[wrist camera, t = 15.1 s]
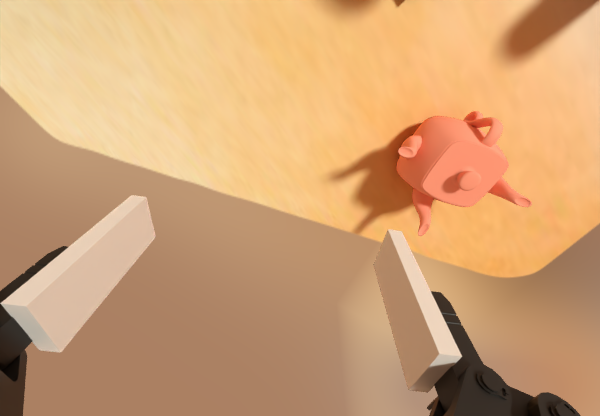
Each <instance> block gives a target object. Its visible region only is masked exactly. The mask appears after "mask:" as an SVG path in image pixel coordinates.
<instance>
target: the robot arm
mask: <svg viewBox="0 0 600 416" xmlns="http://www.w3.org/2000/svg"><path fill="white" fill-rule="evenodd" d="M155 237H156V236H155V232H154V227H153V223H152V219H151V215H150V211H149V207H148V202H147V198H146V197H142V196H133V195H131V196H130V197H129V198H128V199H126V200H125V201H124V202H123V203H122V204H120V205H119V206H118V207H117V208H116V209H114V210H113V211H112V212H111V213H109V214H108V215H107V216H106V217H105V218H103V219H102V220H101V221H100V222H99V223H97V224H96V225H95V226H94V227H92V228H91V229H90V230H89V231H88V232H86V233H85V234H84V235H83V236H82V237H80V238H79V239H78V240H77V241H76V242H74V243H73V244H72V245H71V246H69V247H66V246H63V247H61V248H58V249H56V250H54V251H52V252H51V253H48V254H47V255H46V256H44V257H43V258H42V259H41V260H39V261H38V262H37V263H36V264H35V266H32V267H30V268H29V269H28V270H27V271H26V272H25V273H24V274H21V275H20V276H19V277H18V278H16V279H15V280H14V281H12V282H11V283H10V284H9V285H7V286H6V287H5V288H4V289H2V290H1V291H0V416H23V404H24V391H25V376H26V364H27V354H26V351H25V348H26V347H27V346H28V345H29V344H30V343H31V342H33V343H34V344H35V345H36V347H37V348H38V349H39V350H43V351H52V352H62V350H63V349H64V348H65V347H66V346H67V344H68V343H69V342H70V341H71V340H72V338H73V337H74V336H75V335H76V333H77V332H78V331H79V329H80V328H81V327H82V326H83V325H84V324H85V322H86V321H87V320H88V319H89V318H90V316H91V315H92V314H93V313H94V312H95V310H96V309H97V308H98V307H99V305H100V304H101V303H102V302H103V301H104V299H105V298H106V297H107V296H108V294H109V293H110V292H111V291H112V289H113V288H114V287H115V286H116V285H117V284H118V282H119V281H120V280H121V278H122V277H123V276H124V275H125V274H126V273H127V271H128V270H129V269H130V268H131V266H132V265H133V264H134V263H135V261H136V260H137V259H138V258H139V257H140V256H141V254H142V253H143V252H144V251H145V249H146V248H147V247H148V246H149V245H150V243H151V242H152V241H153V240H154V238H155ZM374 269H375V272H376V275H377V279H378V283H379V287H380V290H381V293H382V297H383V300H384V304H385V308H386V311H387V315H388V319H389V322H390V326H391V329H392V333H393V337H394V340H395V344H396V347H397V351H398V354H399V358H400V361H401V365H402V369H403V372H404V376H405V380H406V383H407V387H408V390H410V391H419V392H429V391H430V390H431V389H432V387H433V386H435V388H436V391H437V394H438V397H437V398H436V399H435V400H433V402H431V404H429V406H428V407H427V409H428V410H431V409H432V410H431V412H430V415H429V416H580V414H579V413H578V412H577V411H576V410H575V409H574V408H573V407H572V406H571V405H570V404H568V403H567V402H566V401H564V400H563V399H561V398H560V397H558V396H556V395H554V394H551V393H540V394H539V395H537V396H536V397H532V396H530V395H528V394H526V393H523V392H521V391H519V390H517V389H514V388H512V387H510V386H508V385H507V384H506V383H505V382H504V381H503V379H502V378H501V377H500V376H499V375H498V374H497V373H496V372H495V371H493V370H492V369H490V368H489V367H487V366H485V365H484V364H483V362H482V361H481V359H480V357H479V356H478V354H477V352H476V350H475V348H474V347H473V344H472V342H471V341H470V339H469V337H468V335H467V333H466V332H465V329H464V328H463V326H461V322H460V320H459V318H458V316H456V313H455V311H454V309H453V307H452V305H451V303H450V302H449V301H448V300H447V299H446V298H445V297H444V296H443V295H442V293H440V292H432V291H430V289H429V287H428V285H427V283H426V281H425V279H424V277H423V275H422V272H421V270H420V268H419V266H418V264H417V262H416V260H415V258H414V256H413V254H412V252H411V250H410V248H409V245H408V243H407V241H406V239H405V237H404V235H403V233H402V231H397V230H389V229H388V231H387V233H386V235H385V238H384V240H383V243H382V245H381V248H380V250H379V252H378V255H377V257H376V260H375V262H374Z"/></svg>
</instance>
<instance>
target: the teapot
mask: <svg viewBox="0 0 600 416" xmlns="http://www.w3.org/2000/svg"><path fill="white" fill-rule="evenodd" d="M486 126H491V128H490V130H489V132H488V133H487V135H486V134H485V133H484V132H483V131H481V130H480V129H478V128H480V127H486ZM502 131H503V125H502V123H501V122H500V121H499V120H498V119H495V118H483V115H482V113H480V112H478V111H473V112H471V113H470V114H468V115H467V116H466V117H465V119H464V121H462V120H459V119H455V118H450V117H443V116H434V117H431V118H428V119H426V120H425V121H424V122H423V123H422V124H421V125H420V126H419V127H418V129H417V130H416V131H415V133H414V134H413V136H410V137H408V138H407V139H406V140H405V141H404V142H403V143H402V145H401V147H400V148H399V149H398V153H399V154H400V157H399V159H398V162H397V165H396V169H397V172H398V174H399V175H400V176H401V178H402V179H403V180H405V181H406V182H407V183H408V184H409V185H411V186H412V187H414V188H413V193H412V201H413V204H414V206H415V208H416V210H417V212H418V214H419V217H420V226H419V231H418V235H419V236H422V235H424V234H425V233H426V232H427V230H428V229H429V227H430V223H431V205H432V202H433V200H434V199H437V200H439V201H442V202H445V203H449V204H452V205H456V206H461V207H470V206H473V205H474V204H476V203H477V202H478V201H479V200H480V199H481V198H482V197H483V196H484V195H485V194H486V193H487V192H488V193H491V194H494V195H497V196H499V197H502V198H504V199H506V200H508V201H510V202H512V203H514V204H516V205H519V206H523V207H529V206H531V205H532V202H531V201H530V200H529V199H528V198H526V197H524V196H523V195H521V194H519V193H518V192H516V191H515V190H514V189H513V188H512V187H511V186H510V185H509V184H508V183H507V182H506V181H505V180H504V179H503V178H502V175H503V174H504V173H505V172H506V170H507V168H508V161H507V159H506V157H505V155H504V154H503V152H502V150H501V149H500V147H499V146H498V145H497V144H496V142H497V141H498V139H499V138H500V136H501V134H502Z"/></svg>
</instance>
